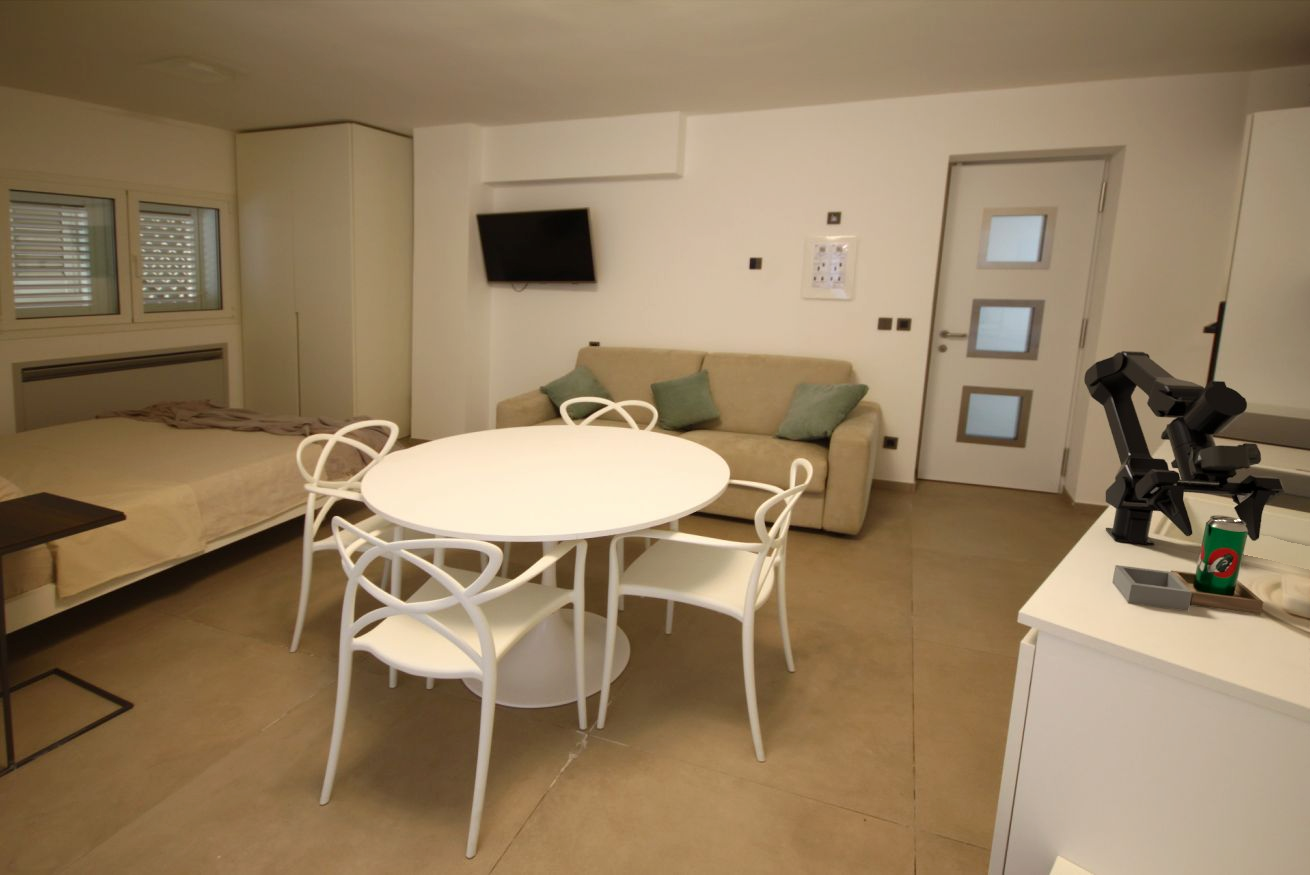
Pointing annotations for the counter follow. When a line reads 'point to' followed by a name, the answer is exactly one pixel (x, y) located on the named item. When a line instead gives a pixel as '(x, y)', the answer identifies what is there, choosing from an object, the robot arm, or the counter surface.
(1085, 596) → the counter surface
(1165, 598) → the box
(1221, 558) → the soda can
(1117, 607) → the counter surface
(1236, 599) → the walnut tray
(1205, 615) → the counter surface
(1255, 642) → the counter surface
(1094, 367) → the robot arm
